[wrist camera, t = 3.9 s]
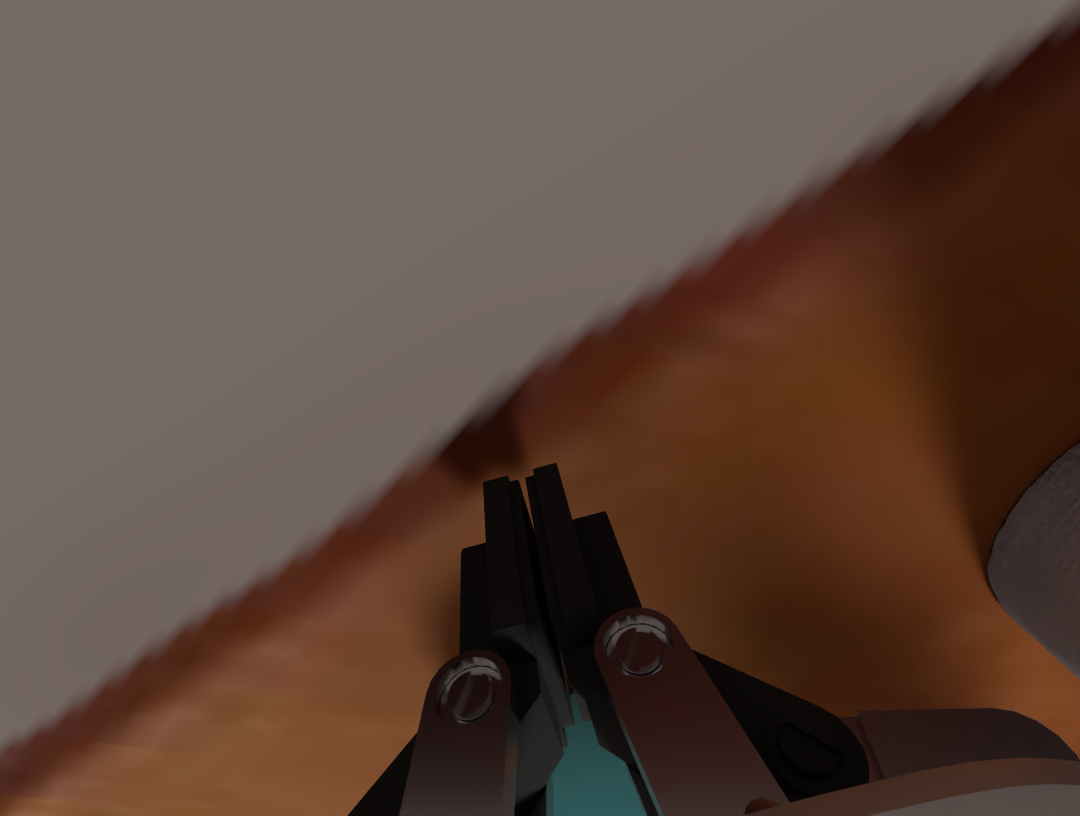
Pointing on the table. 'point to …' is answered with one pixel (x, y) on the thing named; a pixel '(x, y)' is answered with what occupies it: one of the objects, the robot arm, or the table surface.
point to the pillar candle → (1044, 560)
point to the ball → (591, 776)
